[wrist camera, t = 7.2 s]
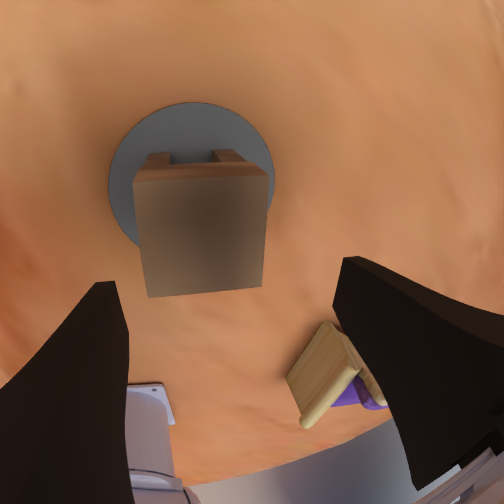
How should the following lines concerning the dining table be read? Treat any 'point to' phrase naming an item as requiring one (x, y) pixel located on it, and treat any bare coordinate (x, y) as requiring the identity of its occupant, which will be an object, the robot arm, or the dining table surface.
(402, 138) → the dining table surface
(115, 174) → the mat
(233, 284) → the wooden toy stool
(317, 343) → the toy sofa
